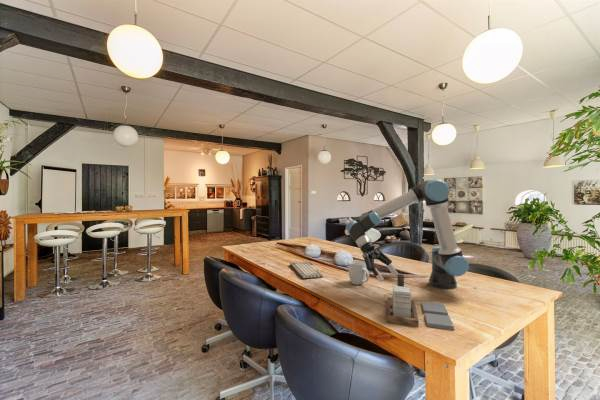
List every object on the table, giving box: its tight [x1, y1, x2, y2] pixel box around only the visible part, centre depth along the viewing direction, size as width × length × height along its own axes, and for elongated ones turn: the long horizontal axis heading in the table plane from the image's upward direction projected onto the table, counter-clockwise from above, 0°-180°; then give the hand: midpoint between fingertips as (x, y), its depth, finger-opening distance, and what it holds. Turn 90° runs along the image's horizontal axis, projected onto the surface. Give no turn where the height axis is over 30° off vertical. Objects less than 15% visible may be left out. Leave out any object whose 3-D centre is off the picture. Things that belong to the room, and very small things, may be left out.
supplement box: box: [392, 285, 412, 318], centre depth 124 cm, size 7×7×13 cm
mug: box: [347, 259, 370, 286], centre depth 168 cm, size 15×11×13 cm
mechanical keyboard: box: [288, 260, 327, 281], centre depth 197 cm, size 38×19×3 cm, turn 17°
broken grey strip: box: [421, 300, 455, 331], centre depth 125 cm, size 10×24×2 cm, turn 161°
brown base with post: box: [385, 274, 420, 328], centre depth 128 cm, size 13×26×14 cm, turn 161°
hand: (389, 277), depth 141 cm, fingers open, 13 cm apart
